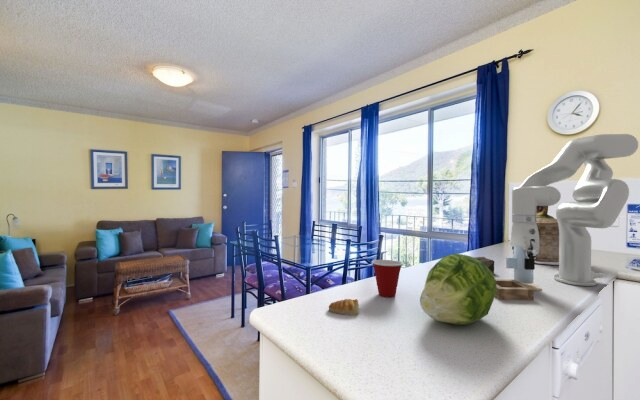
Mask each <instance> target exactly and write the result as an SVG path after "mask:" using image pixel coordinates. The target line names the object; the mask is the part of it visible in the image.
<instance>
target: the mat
mask: <svg viewBox="0 0 640 400" xmlns="http://www.w3.org/2000/svg"><path fill="white" fill-rule="evenodd" d="M522 284H524V285H526V286H528V287H530V288H532V289H534V291H543V288H542V287H539V286H537V285H535V284H534V283H532V284H525V283H522Z"/></svg>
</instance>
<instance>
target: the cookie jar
mask: <svg viewBox="0 0 640 400" xmlns="http://www.w3.org/2000/svg"><path fill="white" fill-rule="evenodd" d="M548 212H549V206H536V224H537V227H538V232H539V253H538V254H537V256H536V259H535V264H539V265H540V264H542V265H554V266H559V226H558V222H557V218H556V217H554V216H552V215H549V214H548Z"/></svg>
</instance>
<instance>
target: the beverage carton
mask: <svg viewBox="0 0 640 400" xmlns="http://www.w3.org/2000/svg"><path fill="white" fill-rule="evenodd" d="M473 257H474V258H476V259H477V260H479V261H481V262H483V263H484V264H485V265H486V266H487V267H488V268H489V270H490V271H491V272H492V274H495V260H493V259H490V258H486V256H478V257H475V256H473Z"/></svg>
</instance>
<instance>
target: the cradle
mask: <svg viewBox="0 0 640 400" xmlns="http://www.w3.org/2000/svg"><path fill="white" fill-rule="evenodd" d="M495 280H496V286H497V292H496V294H495V297H494V298H496V299H498V300H512V301H513V300H514V301H515V300H518V301H528V300H529V301H534V300H535V290H534V289H532V288H530V287H528V286H526V285H524V284H522V283H520V282H518V281H516V280H514V279H501V278H499V279H497V278H495Z"/></svg>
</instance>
